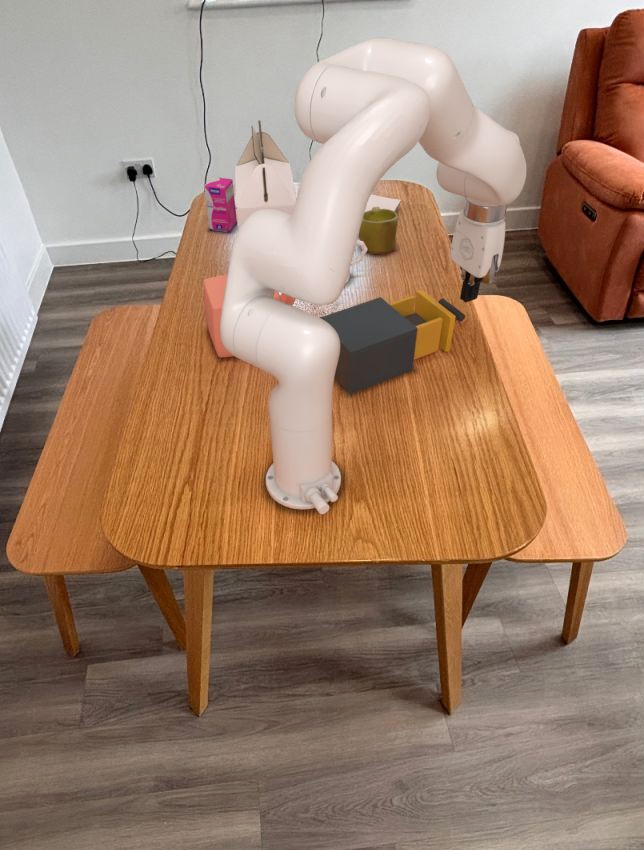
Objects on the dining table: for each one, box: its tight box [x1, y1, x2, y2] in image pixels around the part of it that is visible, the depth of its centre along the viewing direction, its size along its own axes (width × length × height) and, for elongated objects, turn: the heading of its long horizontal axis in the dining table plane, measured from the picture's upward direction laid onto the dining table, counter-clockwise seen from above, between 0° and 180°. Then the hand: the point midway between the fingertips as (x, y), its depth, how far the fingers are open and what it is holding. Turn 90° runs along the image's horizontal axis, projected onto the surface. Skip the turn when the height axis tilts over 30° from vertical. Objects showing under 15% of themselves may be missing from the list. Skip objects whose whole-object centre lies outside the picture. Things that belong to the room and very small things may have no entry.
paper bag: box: [234, 120, 297, 231], centre depth 146 cm, size 22×13×28 cm, turn 5°
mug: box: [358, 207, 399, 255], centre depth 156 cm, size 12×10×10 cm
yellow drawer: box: [388, 289, 466, 361], centre depth 128 cm, size 18×11×8 cm, turn 119°
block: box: [405, 312, 427, 326], centre depth 128 cm, size 4×4×4 cm
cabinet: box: [319, 296, 418, 395], centre depth 124 cm, size 15×13×10 cm
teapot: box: [203, 270, 297, 358], centre depth 130 cm, size 20×22×14 cm
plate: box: [365, 193, 402, 212], centre depth 169 cm, size 20×20×3 cm
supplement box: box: [203, 176, 237, 234], centre depth 164 cm, size 6×6×12 cm
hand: (468, 298), depth 130 cm, fingers closed
